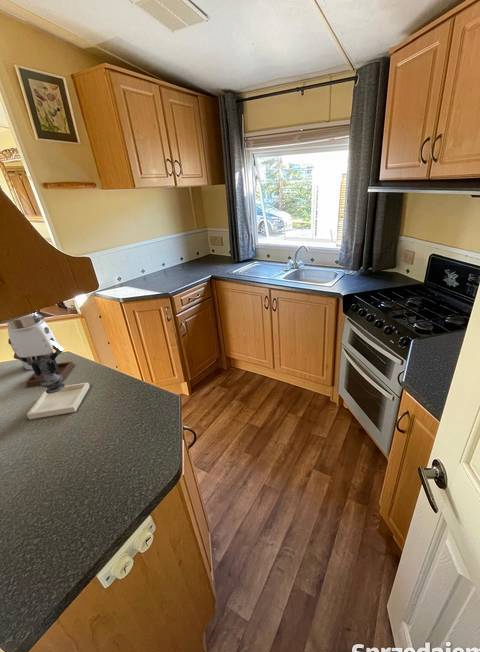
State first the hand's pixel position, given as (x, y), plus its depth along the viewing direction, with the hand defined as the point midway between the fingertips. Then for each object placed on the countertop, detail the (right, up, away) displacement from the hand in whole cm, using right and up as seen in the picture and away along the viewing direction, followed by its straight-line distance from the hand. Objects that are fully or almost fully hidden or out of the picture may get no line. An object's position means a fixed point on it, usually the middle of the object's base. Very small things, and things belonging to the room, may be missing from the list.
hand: (47, 371), depth 94 cm
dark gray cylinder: (-14, -4, +20) cm, 25 cm away
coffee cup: (-27, -2, +28) cm, 39 cm away
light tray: (+1, -11, +5) cm, 12 cm away
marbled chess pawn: (0, -6, +3) cm, 7 cm away
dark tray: (-14, -5, +20) cm, 25 cm away
